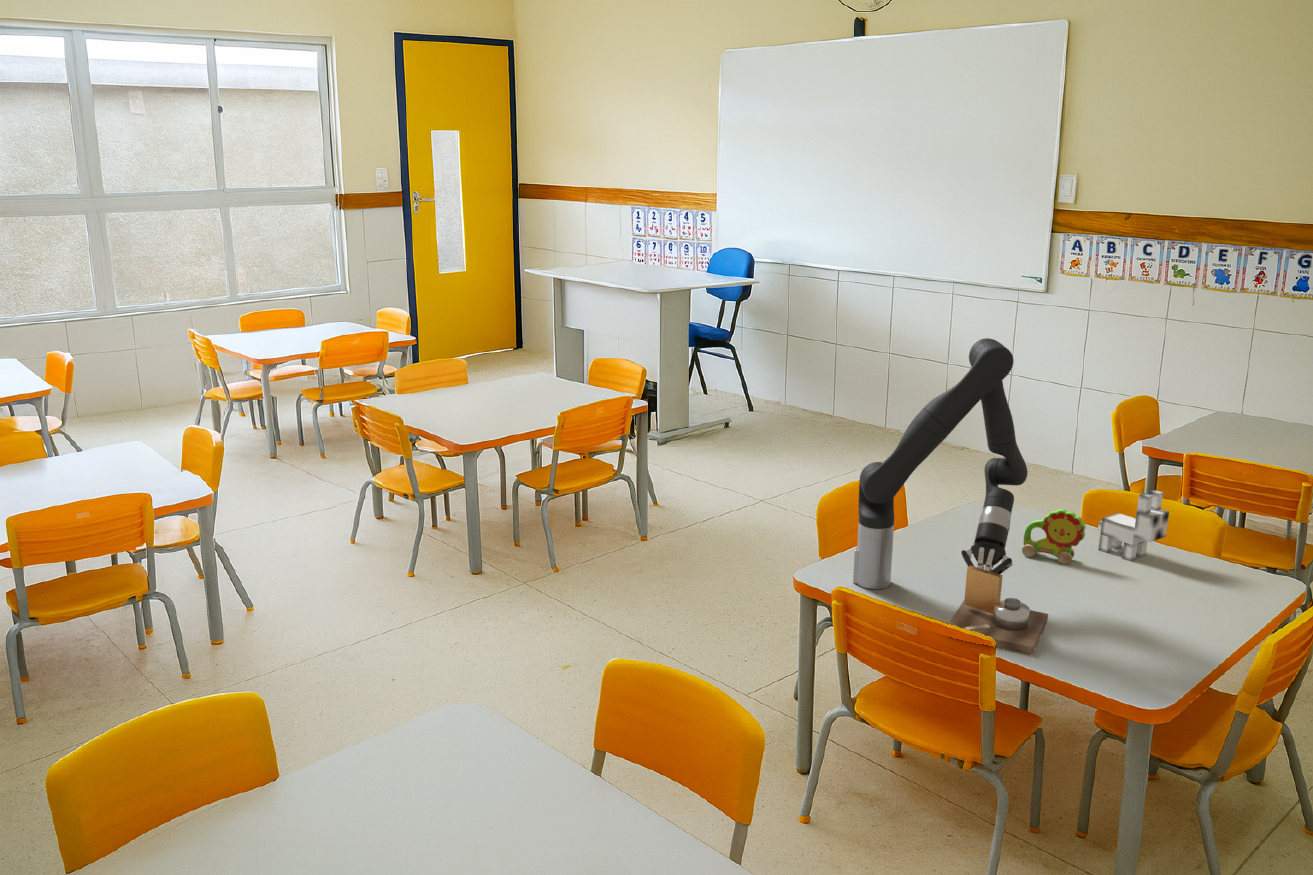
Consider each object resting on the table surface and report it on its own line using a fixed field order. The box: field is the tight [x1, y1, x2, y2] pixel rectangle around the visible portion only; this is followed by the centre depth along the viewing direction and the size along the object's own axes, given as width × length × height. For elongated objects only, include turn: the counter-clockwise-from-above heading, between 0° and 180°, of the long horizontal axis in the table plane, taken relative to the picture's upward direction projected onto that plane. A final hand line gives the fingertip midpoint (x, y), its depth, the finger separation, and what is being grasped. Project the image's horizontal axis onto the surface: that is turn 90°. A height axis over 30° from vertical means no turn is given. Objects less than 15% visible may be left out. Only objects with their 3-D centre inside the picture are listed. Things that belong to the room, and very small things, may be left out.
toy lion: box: [1021, 508, 1086, 565], centre depth 281 cm, size 16×5×15 cm, turn 58°
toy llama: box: [1097, 489, 1170, 562], centre depth 283 cm, size 8×18×20 cm, turn 33°
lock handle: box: [963, 565, 1031, 630], centre depth 241 cm, size 16×8×11 cm, turn 44°
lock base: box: [948, 598, 1049, 656], centre depth 241 cm, size 20×20×2 cm
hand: (979, 589), depth 246 cm, fingers closed
